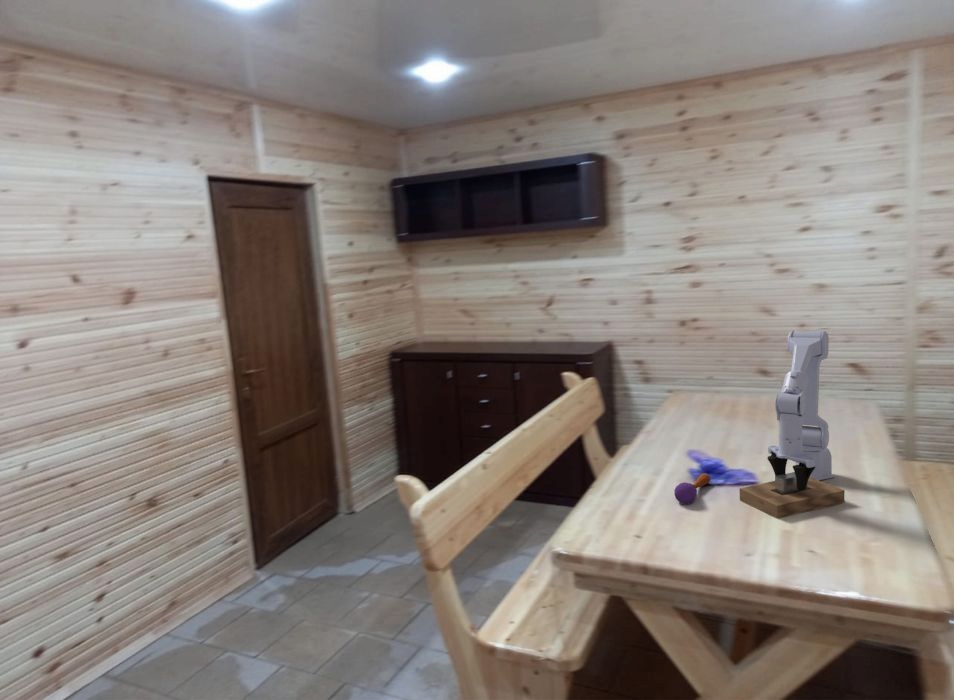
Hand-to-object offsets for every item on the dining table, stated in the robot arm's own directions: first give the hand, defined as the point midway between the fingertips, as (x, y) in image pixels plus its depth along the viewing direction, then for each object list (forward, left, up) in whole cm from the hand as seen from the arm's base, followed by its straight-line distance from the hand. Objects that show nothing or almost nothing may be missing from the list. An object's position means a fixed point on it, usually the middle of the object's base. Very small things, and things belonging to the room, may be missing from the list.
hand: (790, 485), depth 172 cm
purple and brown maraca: (+19, -17, -5) cm, 26 cm away
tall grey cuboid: (0, 0, -4) cm, 4 cm away
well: (0, 0, -5) cm, 5 cm away
